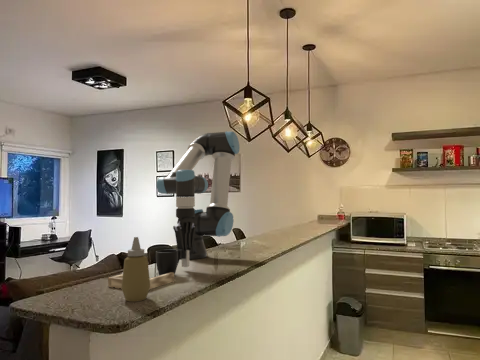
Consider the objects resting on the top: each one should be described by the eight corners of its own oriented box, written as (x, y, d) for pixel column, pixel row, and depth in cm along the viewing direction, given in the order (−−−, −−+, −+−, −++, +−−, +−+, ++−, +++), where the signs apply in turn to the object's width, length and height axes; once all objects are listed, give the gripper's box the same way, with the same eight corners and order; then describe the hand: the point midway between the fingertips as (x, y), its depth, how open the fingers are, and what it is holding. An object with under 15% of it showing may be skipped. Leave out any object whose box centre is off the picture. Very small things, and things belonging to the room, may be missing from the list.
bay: (142, 277, 135) (142, 269, 135) (174, 281, 128) (174, 272, 128) (108, 286, 121) (108, 277, 121) (141, 291, 114) (141, 282, 114)
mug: (188, 273, 141) (188, 248, 141) (168, 279, 131) (168, 253, 131) (172, 271, 145) (172, 247, 145) (151, 277, 134) (151, 251, 135)
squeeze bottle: (117, 299, 106) (117, 237, 107) (142, 294, 111) (143, 235, 112) (128, 305, 100) (128, 239, 101) (155, 299, 105) (155, 237, 106)
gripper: (187, 207, 155) (187, 263, 154) (167, 208, 143) (167, 268, 142) (202, 207, 151) (202, 264, 150) (182, 208, 140) (183, 270, 139)
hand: (185, 266), depth 146 cm, fingers closed
